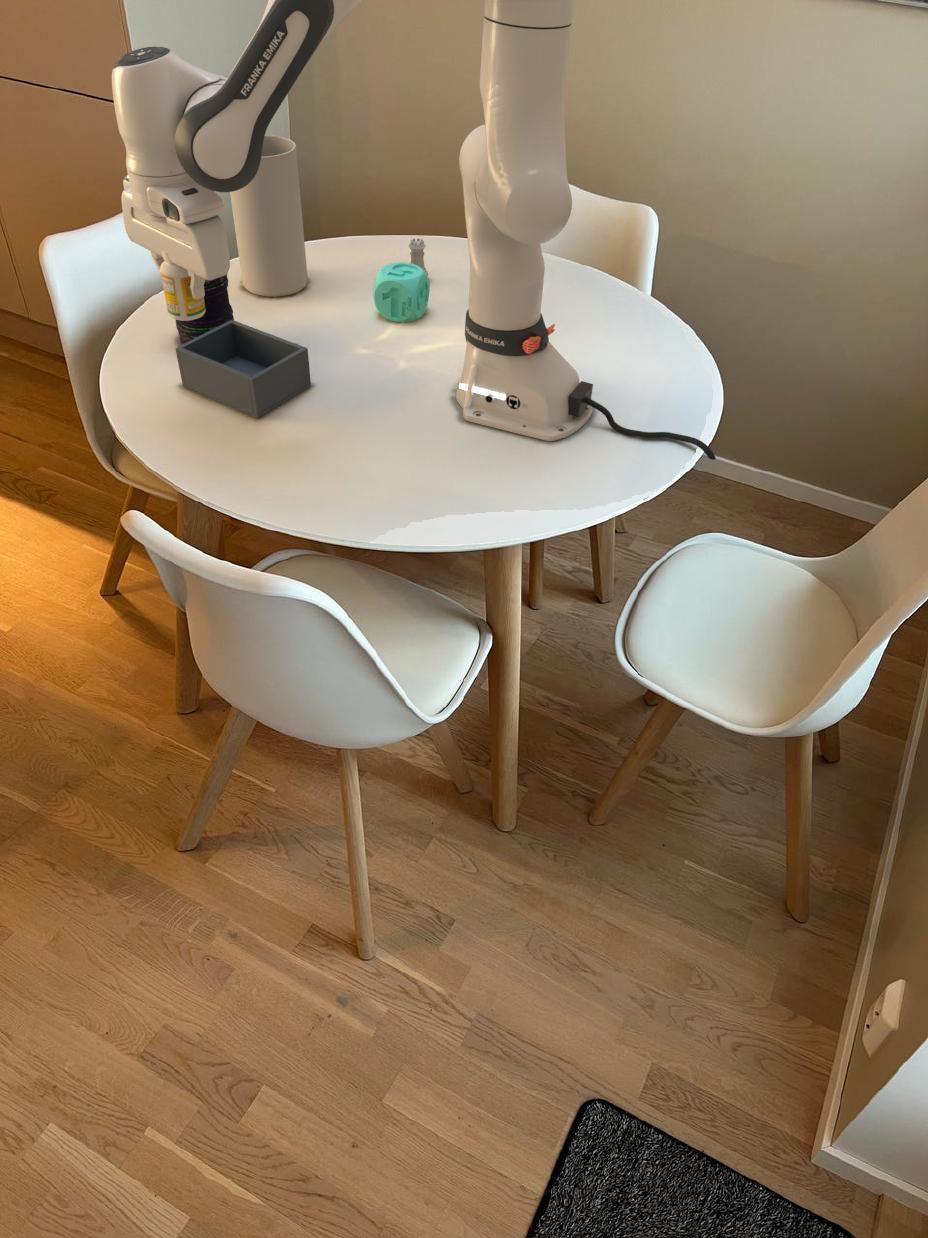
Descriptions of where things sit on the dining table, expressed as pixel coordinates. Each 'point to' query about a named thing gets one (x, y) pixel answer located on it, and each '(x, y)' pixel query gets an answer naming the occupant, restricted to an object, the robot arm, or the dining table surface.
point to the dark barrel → (208, 311)
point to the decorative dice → (401, 292)
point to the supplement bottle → (179, 292)
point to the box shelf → (244, 368)
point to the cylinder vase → (271, 223)
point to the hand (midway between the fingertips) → (183, 289)
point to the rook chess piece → (417, 253)
